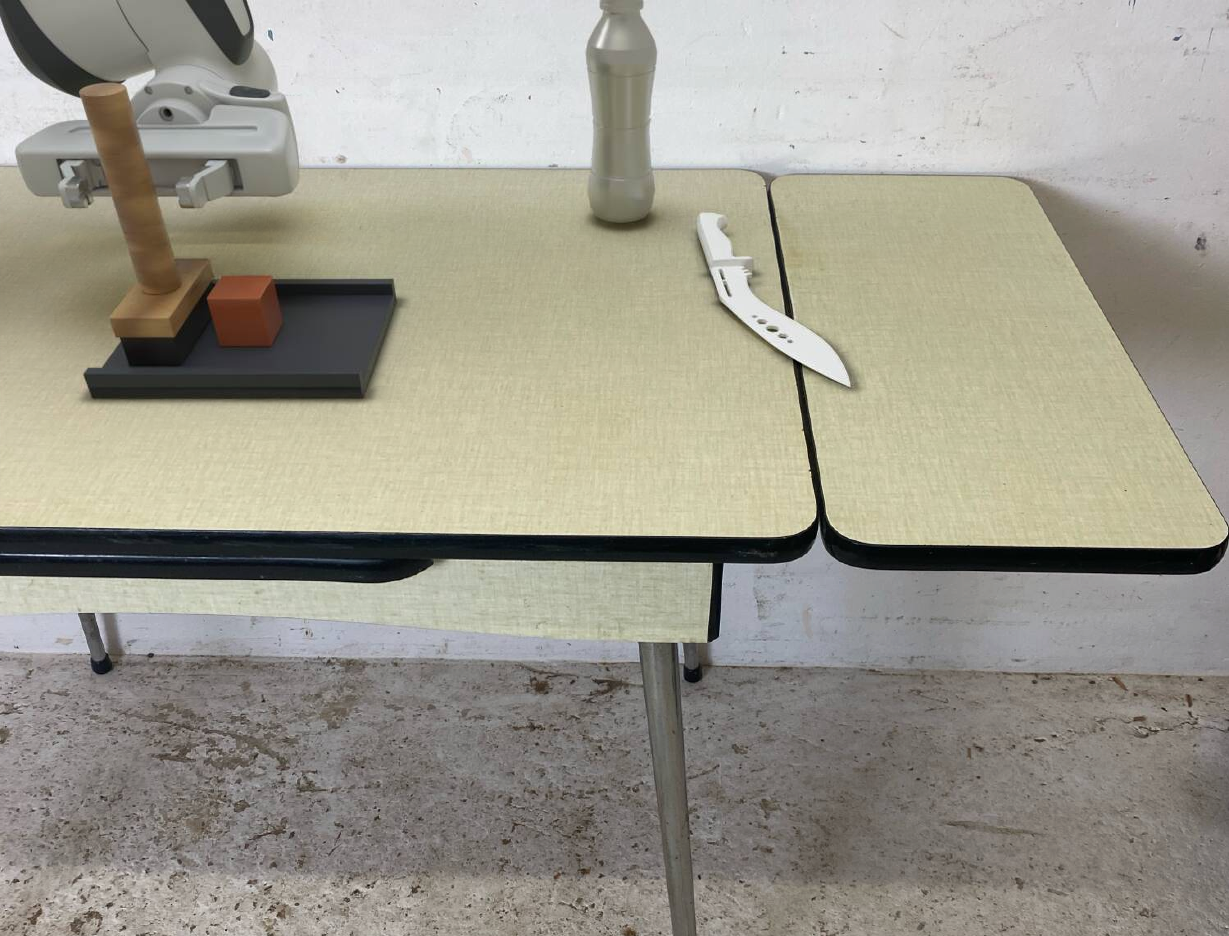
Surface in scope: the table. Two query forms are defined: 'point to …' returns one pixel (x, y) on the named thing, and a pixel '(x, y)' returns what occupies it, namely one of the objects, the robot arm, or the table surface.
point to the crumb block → (245, 310)
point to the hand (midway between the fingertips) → (129, 198)
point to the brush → (146, 242)
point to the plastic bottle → (621, 112)
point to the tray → (273, 350)
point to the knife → (752, 310)
